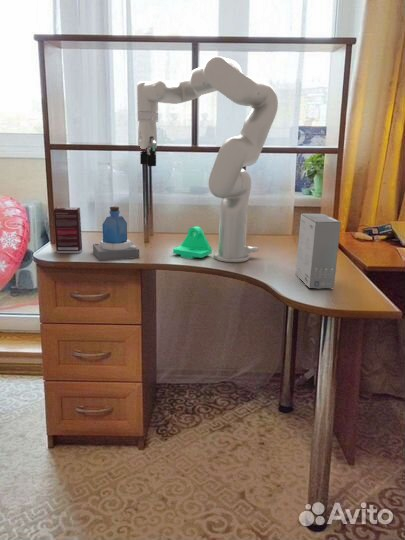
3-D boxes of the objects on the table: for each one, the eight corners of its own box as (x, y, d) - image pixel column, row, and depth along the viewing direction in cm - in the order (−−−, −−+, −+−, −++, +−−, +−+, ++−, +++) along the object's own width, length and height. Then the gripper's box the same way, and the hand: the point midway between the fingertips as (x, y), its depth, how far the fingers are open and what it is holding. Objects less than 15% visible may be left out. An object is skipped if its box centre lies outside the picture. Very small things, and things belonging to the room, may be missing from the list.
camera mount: (172, 256, 173) (172, 227, 170) (183, 251, 179) (183, 224, 176) (201, 260, 167) (202, 231, 164) (211, 256, 174) (212, 228, 171)
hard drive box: (334, 290, 139) (341, 222, 133) (308, 290, 138) (315, 221, 133) (318, 274, 154) (324, 212, 148) (294, 274, 153) (299, 212, 148)
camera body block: (131, 249, 179) (130, 236, 178) (139, 257, 169) (139, 243, 167) (93, 252, 174) (92, 238, 173) (99, 260, 163) (98, 246, 162)
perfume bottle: (112, 238, 174) (111, 205, 170) (127, 240, 172) (126, 206, 168) (103, 242, 168) (101, 207, 165) (118, 243, 166) (117, 209, 163)
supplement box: (82, 250, 176) (80, 207, 172) (80, 253, 172) (78, 209, 167) (58, 250, 176) (56, 206, 171) (55, 253, 171) (52, 209, 167)
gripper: (132, 117, 183) (132, 163, 187) (144, 116, 167) (144, 166, 172) (151, 118, 185) (151, 163, 190) (164, 117, 170) (164, 166, 175)
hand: (148, 165), depth 181 cm, fingers open, 9 cm apart
